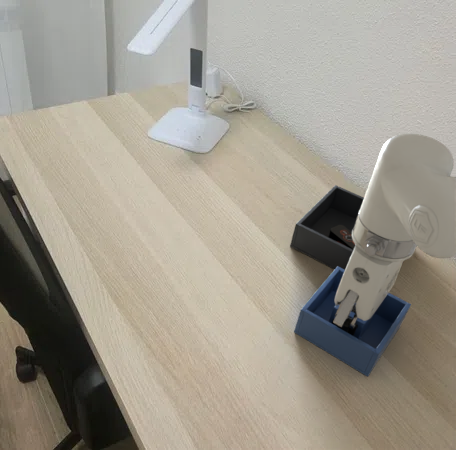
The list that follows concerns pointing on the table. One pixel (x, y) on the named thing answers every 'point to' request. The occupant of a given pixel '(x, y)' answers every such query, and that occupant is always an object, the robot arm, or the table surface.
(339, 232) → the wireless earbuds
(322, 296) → the blue bin
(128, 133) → the table surface
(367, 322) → the blue block
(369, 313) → the robot arm
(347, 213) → the charcoal bin
